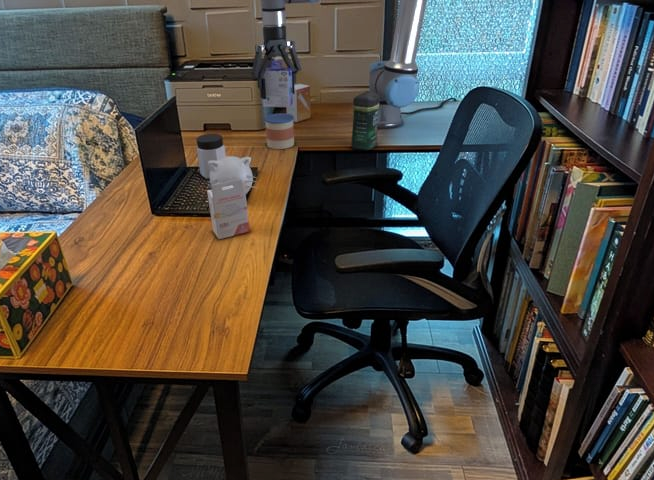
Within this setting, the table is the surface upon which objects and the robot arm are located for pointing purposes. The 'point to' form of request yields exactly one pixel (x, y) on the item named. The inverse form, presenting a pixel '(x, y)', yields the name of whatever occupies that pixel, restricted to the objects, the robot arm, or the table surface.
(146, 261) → the table surface
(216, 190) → the ink cartridge box
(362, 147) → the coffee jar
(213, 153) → the jar
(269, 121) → the yogurt tub
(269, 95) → the ink cartridge box
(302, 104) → the small box
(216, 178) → the cat head
